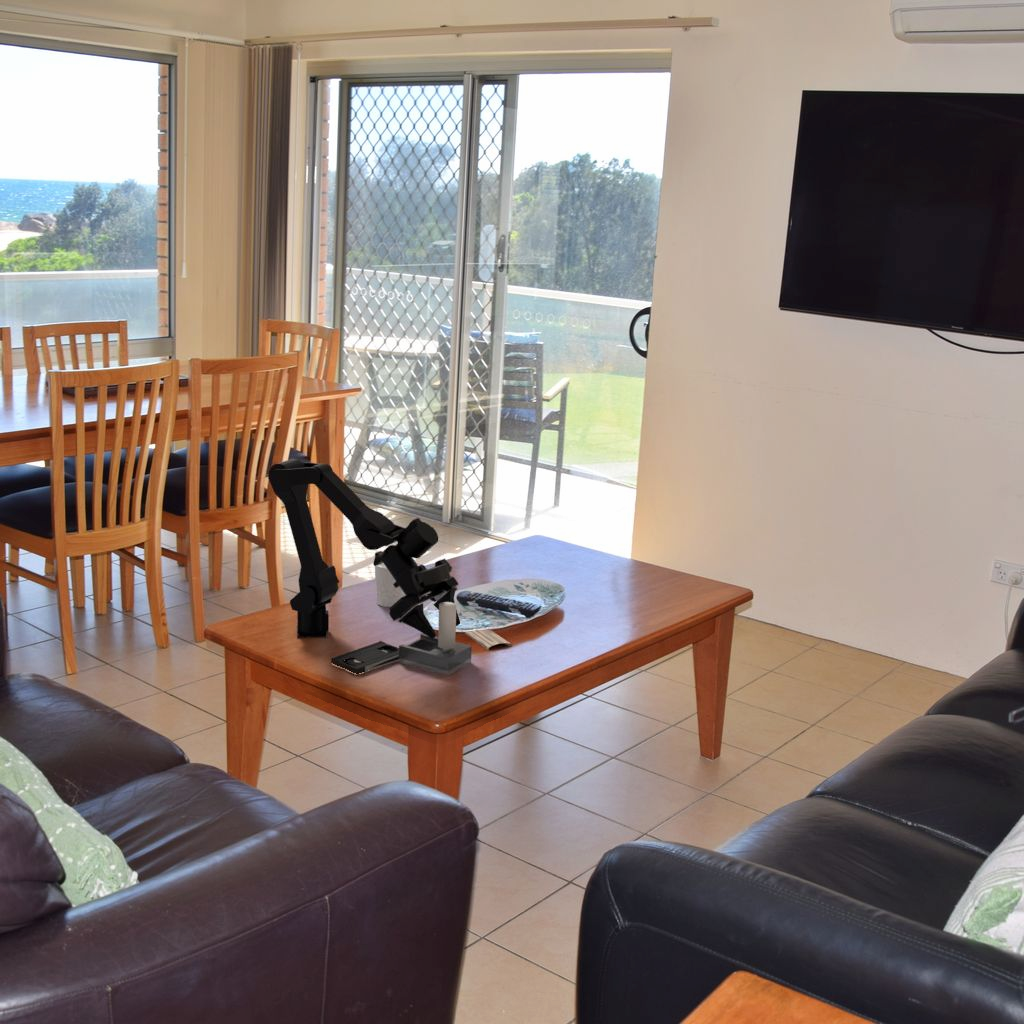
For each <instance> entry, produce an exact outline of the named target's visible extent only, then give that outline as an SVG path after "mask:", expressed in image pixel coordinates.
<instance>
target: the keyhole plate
mask: <svg viewBox="0 0 1024 1024" xmlns="http://www.w3.org/2000/svg"><path fill="white" fill-rule="evenodd" d="M398 648H399V660H398V663H400V664H404V665H407V666H410V667H415V668H417V669H421V670H424V671H425V670H426V671H429V672H432V673H435V674H440V675H443V676H448V677H449V676H450V675H452V674H454V673H456V672H458V670H461V669H462V668H464V667H466V666H468V665H470V664H471V663H472V649H473V647H472V645H470V644H466V643H462V642H458V641H455V647H454V648H452V649H450V650H448V651H447V652H446V651H443V649H442V648H440V647H438V636H436V637H435V638H431V637H429V636H427V635H425V634H424V633H421V634H420V638H418V639H416V640H415V641H412V642H410V643H408V644H403V643H401V644H399V646H398Z"/></svg>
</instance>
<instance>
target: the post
mask: <svg viewBox="0 0 1024 1024" xmlns="http://www.w3.org/2000/svg"><path fill="white" fill-rule="evenodd" d="M456 609H457V604H456V603H452V602H443V603H440V604H439V610H438V634H437V635H438V636H437V637H438V647H440V648H442V649H443V651H446V652H447V651H448V650H450V649H452V648H454V647H455V642H456V631H457V628H456Z"/></svg>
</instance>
